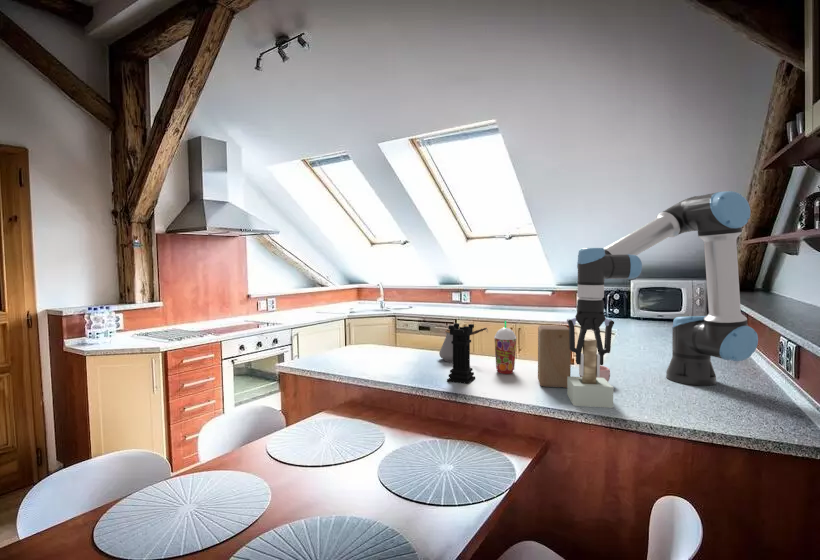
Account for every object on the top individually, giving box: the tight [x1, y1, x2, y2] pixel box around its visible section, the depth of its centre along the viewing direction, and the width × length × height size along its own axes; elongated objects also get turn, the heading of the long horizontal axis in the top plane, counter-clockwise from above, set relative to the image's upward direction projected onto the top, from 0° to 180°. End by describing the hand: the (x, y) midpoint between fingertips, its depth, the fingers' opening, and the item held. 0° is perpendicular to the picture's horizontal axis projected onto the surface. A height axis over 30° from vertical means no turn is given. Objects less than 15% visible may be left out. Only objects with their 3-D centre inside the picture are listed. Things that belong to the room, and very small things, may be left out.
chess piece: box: [446, 322, 476, 385], centre depth 161 cm, size 8×8×20 cm
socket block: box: [566, 375, 614, 409], centre depth 137 cm, size 11×11×6 cm
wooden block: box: [537, 324, 572, 389], centre depth 156 cm, size 10×10×20 cm
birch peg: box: [582, 338, 598, 384], centre depth 137 cm, size 4×4×15 cm
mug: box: [578, 365, 611, 382], centre depth 157 cm, size 12×10×6 cm
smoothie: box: [494, 320, 517, 375], centre depth 172 cm, size 8×8×20 cm
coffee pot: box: [439, 327, 489, 363], centre depth 192 cm, size 21×12×15 cm, turn 66°
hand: (589, 375), depth 137 cm, fingers closed on birch peg, 4 cm apart
